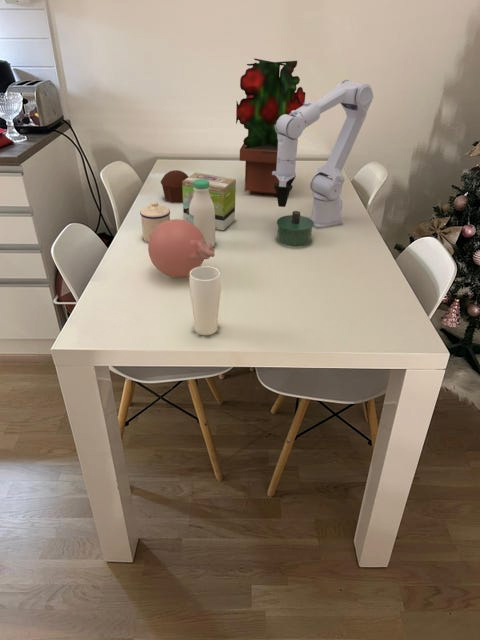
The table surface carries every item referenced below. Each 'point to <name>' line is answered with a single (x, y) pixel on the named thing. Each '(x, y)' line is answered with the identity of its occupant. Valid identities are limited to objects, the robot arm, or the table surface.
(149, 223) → the teacup with lid
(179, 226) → the balloon
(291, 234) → the pot
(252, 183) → the potted plant
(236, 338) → the table surface
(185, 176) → the muffin
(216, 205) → the tea box
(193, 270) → the drinking glass
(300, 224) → the lid
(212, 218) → the milk bottle
